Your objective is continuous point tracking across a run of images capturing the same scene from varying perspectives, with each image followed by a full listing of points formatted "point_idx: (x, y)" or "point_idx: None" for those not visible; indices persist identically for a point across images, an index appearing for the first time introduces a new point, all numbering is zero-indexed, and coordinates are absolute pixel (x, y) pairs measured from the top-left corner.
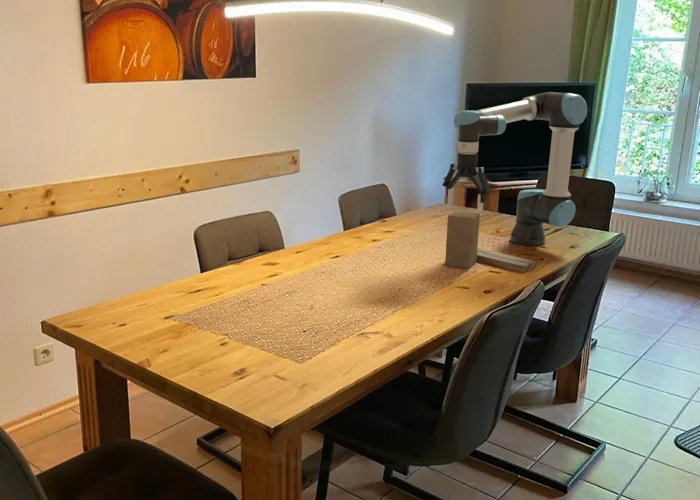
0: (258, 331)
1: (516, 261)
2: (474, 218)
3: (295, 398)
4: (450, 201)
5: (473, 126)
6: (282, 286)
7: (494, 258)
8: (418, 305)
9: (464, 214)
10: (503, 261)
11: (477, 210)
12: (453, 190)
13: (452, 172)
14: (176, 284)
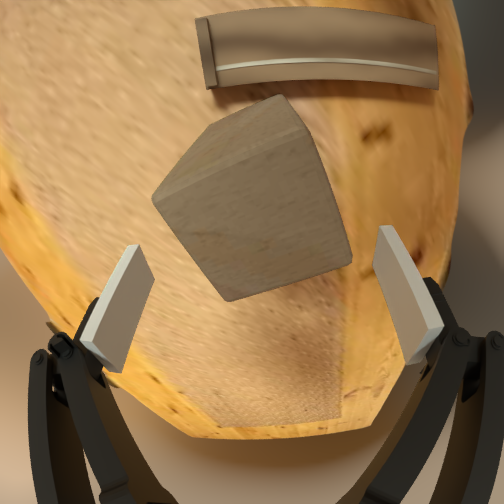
0: (281, 419)
1: (403, 56)
2: (348, 241)
3: (363, 421)
4: (141, 289)
5: None
6: (194, 389)
7: (340, 73)
8: (353, 350)
9: (267, 239)
10: (377, 81)
11: (375, 268)
12: (100, 330)
13: (81, 493)
14: (151, 408)
